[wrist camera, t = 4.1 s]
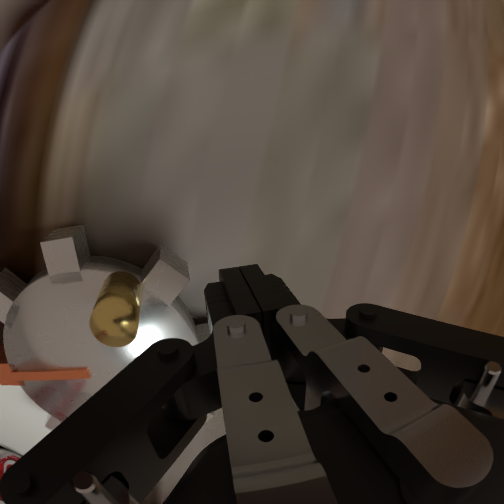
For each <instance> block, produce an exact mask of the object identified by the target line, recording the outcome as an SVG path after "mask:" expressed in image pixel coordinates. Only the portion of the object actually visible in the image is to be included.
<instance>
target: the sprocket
mask: <svg viewBox="0 0 504 504" xmlns="http://www.w3.org/2000/svg"><path fill="white" fill-rule="evenodd" d="M40 244H41V248H42V252H43V256H44V260H45V263H46V267H45V268H44V269H42V270H41V271H40V272H39V273H37V274H36V275H35V276H34V277H33V278H32V279H31V280H30V282H29V283H28V284H27V283H25V282H24V281H23V280H21V279H20V278H19V277H18V276H16V275H15V274H14V273H13V272H11V271H10V270H9V269H8V268H6V267H5V268H4V269H3V270H2V271H1V272H0V321H1V322H2V323H4V331H3V341H4V344H1V345H0V385H13V386H21V387H22V389H23V390H24V391H25V392H26V394H27V395H28V396H29V397H30V398H31V399H32V400H33V401H34V402H35V403H36V404H37V405H38V406H40V407H41V408H42V409H43V410H45V411H46V412H47V413H48V416H47V419H46V423H45V427H46V428H48V429H50V430H53V429H54V428H56V427H57V426H58V425H59V424H60V423H61V422H63V421H64V420H65V419H66V418H67V417H68V416H70V415H71V414H72V413H73V412H74V411H75V410H76V409H78V408H79V407H80V406H81V405H82V404H83V403H85V402H86V401H87V400H88V399H89V398H90V397H91V396H93V395H94V394H95V393H96V392H97V391H98V390H100V389H101V388H102V387H103V386H104V385H105V384H106V383H108V382H109V381H110V380H111V379H112V378H113V377H115V376H116V375H117V374H118V373H119V372H120V371H121V370H123V369H124V368H125V367H126V366H127V365H128V364H130V363H131V362H132V361H133V360H134V359H135V358H136V357H138V356H139V355H140V354H141V353H142V352H143V351H144V350H146V349H147V348H148V347H149V346H150V345H152V344H153V343H155V342H157V341H159V340H162V339H167V338H180V339H183V340H186V341H188V342H189V343H190V344H191V345H192V346H194V345H197V344H199V343H201V342H203V341H205V340H206V339H207V338H208V337H209V336H210V335H211V332H210V328H209V324H208V323H205V324H199V325H195V323H194V320H193V318H192V316H191V314H190V312H189V311H188V309H187V307H186V305H185V304H184V303H183V302H182V300H181V299H180V298H179V296H178V294H179V293H180V292H181V291H182V289H183V288H184V287H185V286H186V284H187V283H188V282H189V281H190V276H189V270H188V263H187V262H186V261H184V260H183V259H182V258H180V257H179V256H177V255H176V254H175V253H173V252H172V251H170V250H169V249H168V248H166V247H165V246H163V245H162V244H160V246H159V247H158V248H157V250H156V251H155V252H154V254H153V255H152V256H151V258H150V259H149V260H148V262H147V263H146V264H145V266H144V267H143V268H140V267H138V266H136V265H134V264H131V263H129V262H125V261H122V260H119V259H115V258H110V257H104V256H91V255H90V252H89V247H88V242H87V238H86V233H85V227H84V224H83V225H77V226H71V227H65V228H59V229H55V230H53V231H52V232H51V233H50V234H49V235H48V236H47V237H46V238H45V239H43V240H42V241H41V242H40ZM213 416H214V412H211V413H208V414H207V419H206V422H207V421H208V420H209V419H210V418H212V417H213ZM206 422H205V423H206ZM205 423H204V424H205Z"/></svg>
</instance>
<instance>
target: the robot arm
mask: <svg viewBox="0 0 504 504" xmlns="http://www.w3.org/2000/svg"><path fill="white" fill-rule="evenodd" d="M219 280H220V282H215V283H208V284H207V286H206V288H205V289H204V295H205V303H206V310H207V317H208V324H209V328H210V332H211V335H210V336H209V337H208V338H207V339H206V340H205V341H203V342H201V343H199V344H197V345H194V346H192V345H191V344H190V343H189V342H188V341H186V340H183V339H180V338H167V339H162V340H159V341H157V342H155V343H153V344H152V345H150V346H149V347H148V348H147V349H146V350H144V351H143V352H142V353H141V354H140V355H139V356H138V357H136V358H135V359H134V360H133V361H132V362H131V363H130V364H128V365H127V366H126V367H125V368H124V369H123V370H121V371H120V372H119V373H118V374H117V375H116V376H115V377H113V378H112V379H111V380H110V381H109V382H108V383H106V384H105V385H104V386H103V387H102V388H101V389H100V390H98V391H97V392H96V393H95V394H94V395H93V396H91V397H90V398H89V399H88V400H87V401H86V402H85V403H83V404H82V405H81V406H80V407H79V408H78V409H76V410H75V411H74V412H73V413H72V414H71V415H70V416H68V417H67V418H66V419H65V420H64V421H63V422H61V423H60V424H59V425H58V426H57V427H56V428H54V429H53V430H52V431H51V432H50V433H49V434H48V435H46V436H45V437H44V438H43V439H42V440H41V441H39V442H38V443H37V444H36V445H35V446H34V447H32V448H31V449H30V450H29V451H28V452H27V453H26V454H24V455H23V456H22V457H21V458H20V459H19V460H17V461H16V462H15V463H14V464H13V465H12V466H10V467H9V468H8V469H7V470H6V471H5V472H4V474H3V476H2V477H1V480H0V495H1V498H2V500H3V502H4V503H5V504H140V503H141V502H142V501H143V499H144V498H145V497H146V496H147V495H148V493H149V492H150V491H151V490H152V489H153V487H154V486H155V485H156V484H157V483H158V481H159V480H160V479H161V478H162V477H163V475H164V474H165V473H166V472H167V470H168V469H169V468H170V467H171V466H172V464H173V463H174V462H175V461H176V459H177V458H178V457H179V456H180V454H181V453H182V452H183V450H184V449H185V448H186V447H187V445H188V444H189V443H190V442H191V440H192V439H193V438H194V436H195V435H196V434H197V432H198V431H199V430H200V429H201V427H202V426H203V425H204V423H205V422H206V419H207V414H208V413H211V412H213V411H215V410H217V409H220V408H222V410H223V417H224V424H225V430H226V435H224V436H222V437H220V438H218V439H216V440H215V441H214V442H212V443H211V444H209V445H208V446H207V447H206V448H205V449H203V450H202V451H201V452H200V453H199V455H198V456H197V457H196V458H195V459H194V461H193V462H192V463H191V465H190V466H189V468H188V469H187V471H186V472H185V473H184V475H183V476H182V478H181V479H180V481H179V482H178V483H177V485H176V486H175V488H174V489H173V490H172V492H171V493H170V495H169V496H168V497H167V499H166V500H165V501H164V503H163V504H504V337H501V336H497V335H493V334H489V333H484V332H480V331H476V330H472V329H468V328H464V327H460V326H456V325H452V324H448V323H444V322H440V321H436V320H432V319H428V318H424V317H420V316H416V315H413V314H409V313H405V312H401V311H397V310H393V309H389V308H386V307H382V306H378V305H374V304H367V303H363V304H356V305H353V306H351V307H350V308H349V309H348V310H347V312H346V319H326V318H325V317H324V316H323V315H322V314H321V313H320V312H319V311H318V310H316V309H315V308H313V307H310V306H307V305H301V304H300V303H299V301H298V300H297V299H296V297H295V296H294V295H293V293H292V292H291V291H290V289H289V288H288V287H287V286H286V284H285V283H284V282H283V280H282V279H281V278H279V277H277V276H275V275H273V274H268V275H264V273H263V272H262V270H261V269H260V267H259V266H258V265H257V264H254V265H247V266H240V267H233V268H226V269H219ZM383 347H385V348H388V349H391V350H395V351H398V352H402V353H405V354H409V355H412V356H415V357H417V358H418V359H419V360H420V362H421V370H419V371H410V370H406V369H403V368H400V367H396V366H395V365H394V364H393V363H392V362H391V361H389V360H388V359H387V358H386V357H385V356H384V355H383V354H382V350H383Z"/></svg>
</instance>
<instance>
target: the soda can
mask: <svg viewBox="0 0 504 504" xmlns="http://www.w3.org/2000/svg"><path fill="white" fill-rule="evenodd" d="M21 457H22V456H21V455H19V454H17V453H15V452H13V451H10V450H7V449H2V448H0V480H1V477H2V476H3V474H4V472H5V471H6V470H7V469H8V468H9V467H10V466H12V465H13V464H14V463H15V462H16V461H17V460H19V459H20V458H21ZM0 504H5V503H4V502H3V500H2V498H1V495H0Z"/></svg>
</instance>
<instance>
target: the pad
mask: <svg viewBox="0 0 504 504" xmlns="http://www.w3.org/2000/svg"><path fill="white" fill-rule="evenodd" d="M47 416H48V413H47V412H46V411H45V410H43V409H42V408H41V407H40V406H38V405H37V404H36V403H35V402H34V401H33V400H32V399H31V398H30V397H29V396H28V395H27V394H26V392H25V391H24V390H23V389H22V387H21V386H13V385H0V446H2V447H4V448H6V449H9V450H11V451H13V452H16V453H18V454H20V455H24V454H26V453H27V452H28V451H29V450H30V449H31V448H32V447H34V446H35V445H36V444H37V443H38V442H39V441H41V440H42V439H43V438H44V437H45V436H46V435H48V434H49V433H50V432H51V431H52V430H50V429H48V428H46V427H45V423H46V419H47Z"/></svg>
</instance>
